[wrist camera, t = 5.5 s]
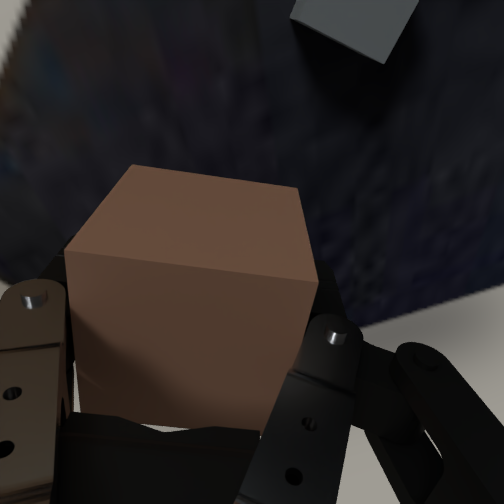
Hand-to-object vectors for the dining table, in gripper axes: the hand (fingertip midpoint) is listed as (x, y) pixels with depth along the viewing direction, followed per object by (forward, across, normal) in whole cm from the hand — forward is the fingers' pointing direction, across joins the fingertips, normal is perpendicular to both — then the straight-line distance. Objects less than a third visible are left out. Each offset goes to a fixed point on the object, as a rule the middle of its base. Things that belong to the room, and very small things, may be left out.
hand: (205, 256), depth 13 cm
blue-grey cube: (+17, -6, -8) cm, 20 cm away
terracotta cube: (+1, 0, 0) cm, 1 cm away
